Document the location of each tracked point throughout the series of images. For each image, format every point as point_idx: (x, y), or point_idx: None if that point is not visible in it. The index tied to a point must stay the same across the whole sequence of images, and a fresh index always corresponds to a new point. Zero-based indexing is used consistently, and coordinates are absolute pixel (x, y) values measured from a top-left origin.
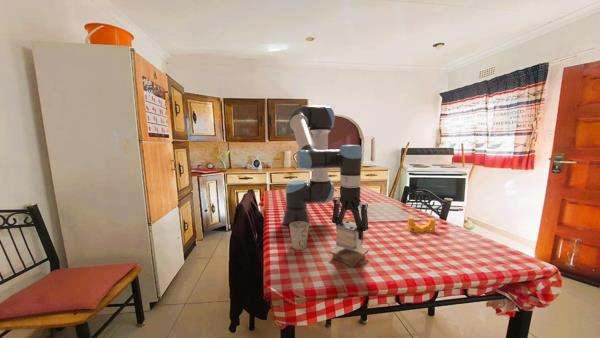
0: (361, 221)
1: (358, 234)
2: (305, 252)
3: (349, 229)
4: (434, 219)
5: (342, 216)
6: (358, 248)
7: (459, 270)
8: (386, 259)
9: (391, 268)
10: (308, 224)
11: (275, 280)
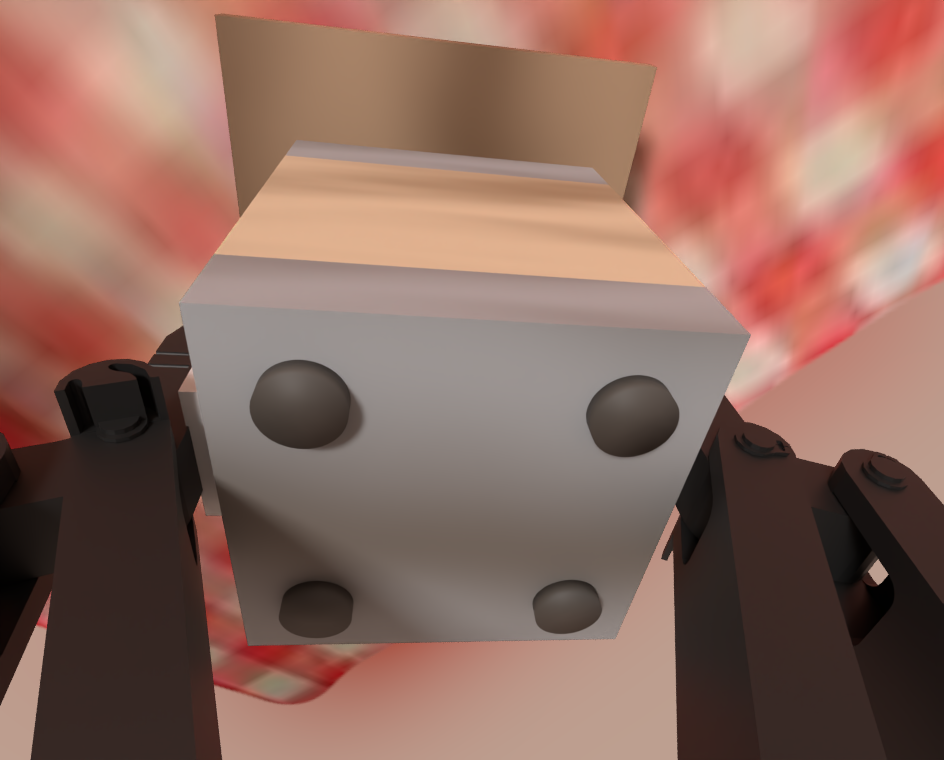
0: (828, 591)
1: None
2: (15, 386)
3: (542, 631)
4: None
5: (213, 733)
6: (517, 112)
7: None
8: None
9: (877, 148)
10: None
11: (225, 668)
